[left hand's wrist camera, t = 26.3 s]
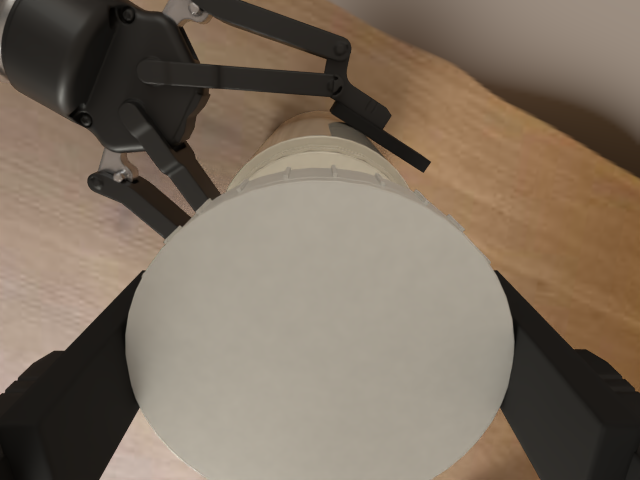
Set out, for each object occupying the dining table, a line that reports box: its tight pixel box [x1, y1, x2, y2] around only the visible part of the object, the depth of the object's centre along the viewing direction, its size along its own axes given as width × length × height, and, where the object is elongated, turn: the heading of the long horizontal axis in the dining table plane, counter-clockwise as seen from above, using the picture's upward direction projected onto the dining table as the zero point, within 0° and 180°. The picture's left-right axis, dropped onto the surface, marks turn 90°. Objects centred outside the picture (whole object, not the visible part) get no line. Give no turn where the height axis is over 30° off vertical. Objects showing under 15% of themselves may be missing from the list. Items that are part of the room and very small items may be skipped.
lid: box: [125, 165, 515, 480], centre depth 12 cm, size 10×10×2 cm
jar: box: [226, 111, 410, 192], centre depth 25 cm, size 9×9×16 cm
